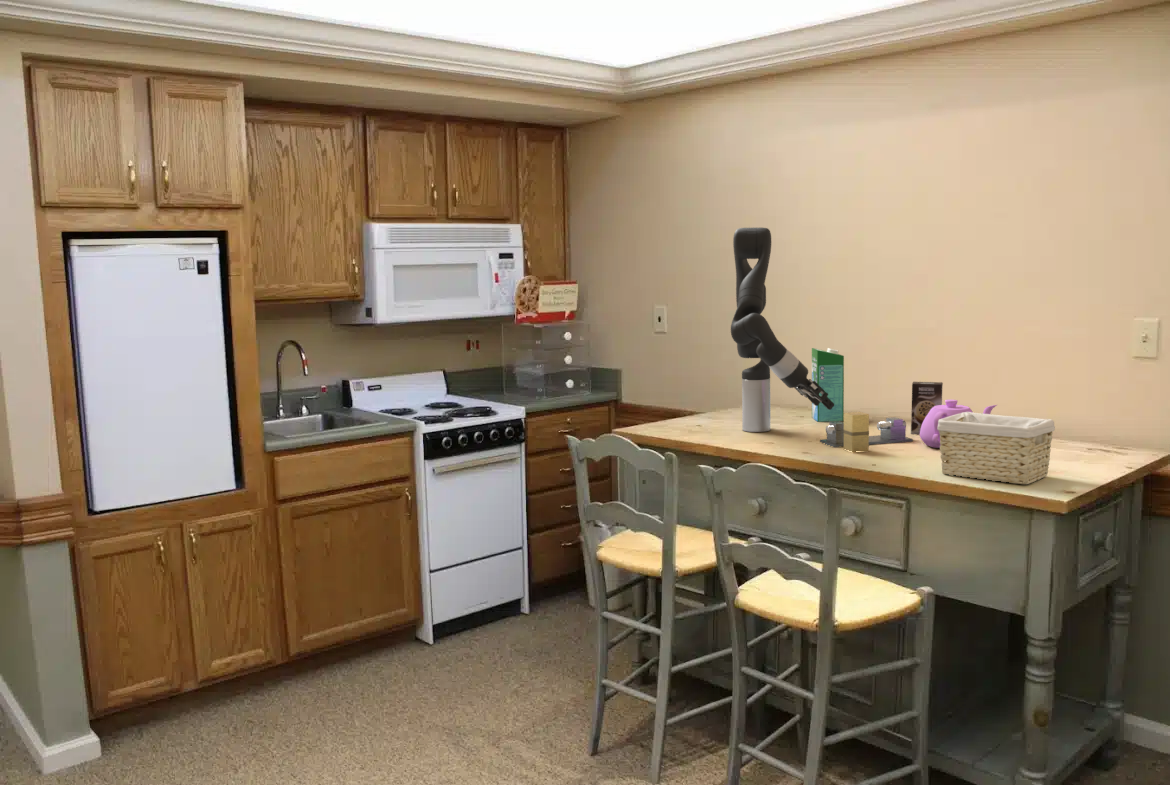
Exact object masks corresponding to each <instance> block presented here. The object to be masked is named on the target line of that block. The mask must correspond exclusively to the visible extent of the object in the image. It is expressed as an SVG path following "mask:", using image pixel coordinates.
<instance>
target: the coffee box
mask: <svg viewBox="0 0 1170 785" xmlns="http://www.w3.org/2000/svg"><path fill="white" fill-rule="evenodd" d="M943 384H944V383H943V382H942V381H939V382H935V381H913V382H912V384H911V414H910V418H911V419H910V420H911V423H910V434H911V435H912V434H913V435H920V429H921V426H922V423H923V421H924V419H925V417H926V416H927V414H928V413H929V411H930V410H931V409H932V408H933V407H934V406H937V405H943Z"/></svg>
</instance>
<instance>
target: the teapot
mask: <svg viewBox="0 0 1170 785" xmlns="http://www.w3.org/2000/svg"><path fill="white" fill-rule="evenodd" d="M944 402H945V404H942V405H937V406H934V407H933V408H932V409H931V410H930V411H929V413H928V414H927V416H926V417H925V419H924V421H923V423H922V426H921V429H920V434H919V437H920V439H921V440H922V442H923V443H924V444H925V445H926V446H928V447H930V448H932V449H933V448H934V449H935V448H937V449H940V446H941V444H940V432H939V430H938V429H937V428H938V420H939V419H943V418H946V417H949V416H952V415H956V414H960V413H963V412H972V413H974V412H973V410H972V409H971V407H969V406H967V405H963V404H958V399H945V400H944ZM997 406H998V404H992V405H989V406H986V407H985V408H984V409H983V412H982V414H991V413H992V411H993V409H995V407H997Z"/></svg>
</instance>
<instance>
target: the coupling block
mask: <svg viewBox="0 0 1170 785" xmlns="http://www.w3.org/2000/svg"><path fill="white" fill-rule="evenodd" d="M869 422H870V414H869V413H866V412H862V411H853V412H852V411H851V412H844V421H843V423H844V430H843V433H844V447H843V450H844V449H846V450H849V451H852V452H856V451H869V450H870V449H869V448H870V447H869V446H870V445H869V436H870V427H869V426H870V423H869ZM846 450H845V451H846ZM869 452H870V451H869Z"/></svg>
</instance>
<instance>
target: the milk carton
mask: <svg viewBox="0 0 1170 785" xmlns="http://www.w3.org/2000/svg"><path fill="white" fill-rule="evenodd" d="M844 366H845V356H844V355H842V354H839V350H838V349H833V348H830V347H827V350H823V349H818V348H814V347H812V348H811V380H812V381H815V382H816V383H817V384H818V385H819V386H820V387H821V388H822V389H823V390H824V391H825V392H826V393H828V396H827V397H828V398H829V399H830V400H831V401H832V402H833V403H834V407H833V408H832V409H831V410H829V409H827V408H826V407H825V406H824V405H823V404H822V403H821V402H820V403H819V405H818V406H815V405H814V404H813V403H812V402H811V418H812V419H813V420H814V421H816V422H817V423H821V422H822V423H826V422H834V421H840V422H844V413H845V412H844V408H845V407H844V403H845V402H844V401H845V398H844V396H845V395H844V394H845V391H844V390H845V388H844V387H845V381H844V380H845V376H844V375H845V372H844V371H845V368H844ZM819 395H820V396H821V395H822V394H821V393H819Z"/></svg>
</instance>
